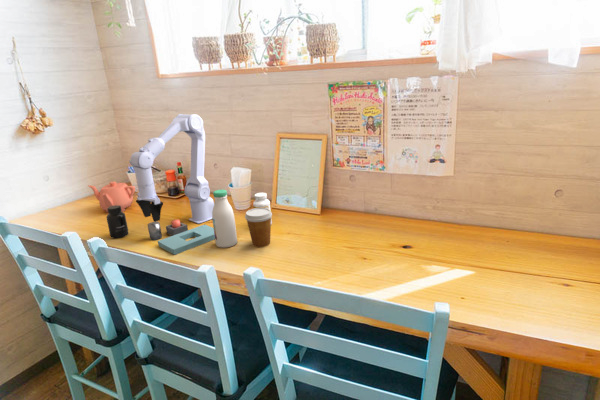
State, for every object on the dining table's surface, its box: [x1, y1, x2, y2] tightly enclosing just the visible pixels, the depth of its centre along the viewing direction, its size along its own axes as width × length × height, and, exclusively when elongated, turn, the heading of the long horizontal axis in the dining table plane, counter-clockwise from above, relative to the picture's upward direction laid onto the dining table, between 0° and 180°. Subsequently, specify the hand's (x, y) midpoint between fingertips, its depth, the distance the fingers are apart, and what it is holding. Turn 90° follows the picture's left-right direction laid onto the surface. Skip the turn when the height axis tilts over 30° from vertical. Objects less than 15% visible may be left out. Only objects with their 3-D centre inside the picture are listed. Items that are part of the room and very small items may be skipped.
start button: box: [170, 218, 181, 228], centre depth 160 cm, size 3×3×4 cm
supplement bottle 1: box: [106, 205, 129, 239], centre depth 160 cm, size 7×7×12 cm
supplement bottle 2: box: [252, 192, 273, 225], centre depth 161 cm, size 7×7×13 cm
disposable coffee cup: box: [244, 207, 273, 248], centre depth 144 cm, size 10×10×12 cm
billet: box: [147, 221, 163, 242], centre depth 156 cm, size 4×4×6 cm
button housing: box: [165, 221, 189, 237], centre depth 160 cm, size 6×6×3 cm
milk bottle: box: [211, 189, 238, 249], centre depth 144 cm, size 8×8×20 cm
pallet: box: [157, 224, 215, 256], centre depth 152 cm, size 20×12×2 cm, turn 135°
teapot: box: [88, 181, 136, 214], centre depth 193 cm, size 16×17×14 cm
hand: (152, 218), depth 154 cm, fingers open, 7 cm apart
